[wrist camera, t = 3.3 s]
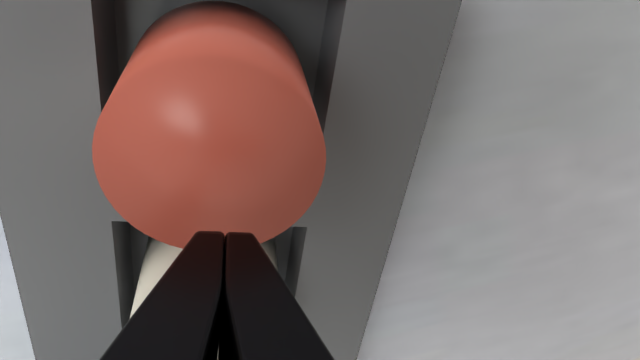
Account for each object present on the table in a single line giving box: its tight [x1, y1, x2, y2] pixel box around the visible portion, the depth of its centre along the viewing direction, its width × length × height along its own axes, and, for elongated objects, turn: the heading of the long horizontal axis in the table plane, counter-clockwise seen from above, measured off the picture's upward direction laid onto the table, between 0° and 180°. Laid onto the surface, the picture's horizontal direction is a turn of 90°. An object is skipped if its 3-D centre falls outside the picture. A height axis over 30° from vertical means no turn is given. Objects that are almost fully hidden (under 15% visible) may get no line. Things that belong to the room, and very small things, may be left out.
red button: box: [92, 0, 326, 249], centre depth 10 cm, size 4×4×4 cm
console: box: [0, 0, 462, 360], centre depth 15 cm, size 18×10×3 cm, turn 171°
